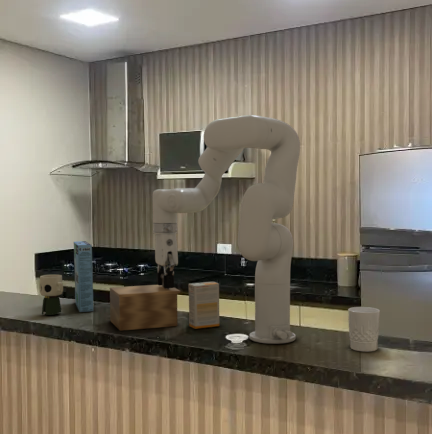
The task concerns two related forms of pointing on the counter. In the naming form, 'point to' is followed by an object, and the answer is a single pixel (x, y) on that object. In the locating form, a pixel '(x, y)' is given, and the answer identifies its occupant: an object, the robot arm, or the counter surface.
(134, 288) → the lid
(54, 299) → the character mug
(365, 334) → the white cup
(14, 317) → the counter surface
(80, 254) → the gum box
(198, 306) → the supplement box
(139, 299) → the chest
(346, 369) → the counter surface
